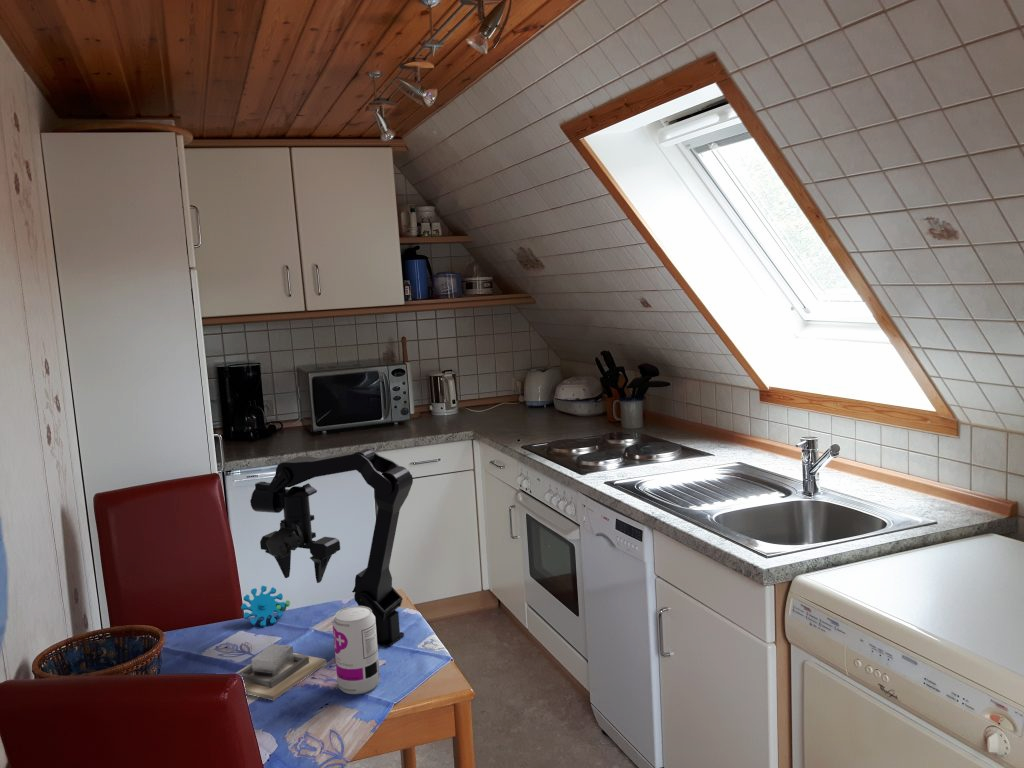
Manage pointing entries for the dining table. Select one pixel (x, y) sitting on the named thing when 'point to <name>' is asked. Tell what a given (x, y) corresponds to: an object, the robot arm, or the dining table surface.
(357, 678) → the supplement can
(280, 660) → the block
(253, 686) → the dock
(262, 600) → the gear
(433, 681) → the dining table surface
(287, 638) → the dining table surface
